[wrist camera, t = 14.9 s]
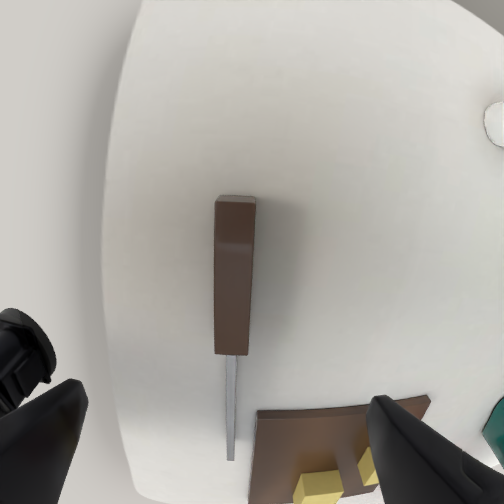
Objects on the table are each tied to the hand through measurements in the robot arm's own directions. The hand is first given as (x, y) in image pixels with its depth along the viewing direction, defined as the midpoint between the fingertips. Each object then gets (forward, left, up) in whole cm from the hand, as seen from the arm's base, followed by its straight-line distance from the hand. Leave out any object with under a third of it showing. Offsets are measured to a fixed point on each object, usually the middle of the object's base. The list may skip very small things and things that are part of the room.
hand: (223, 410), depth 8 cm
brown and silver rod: (0, -6, -11) cm, 13 cm away
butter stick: (+9, -25, -10) cm, 28 cm away
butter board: (+10, -21, -11) cm, 26 cm away
